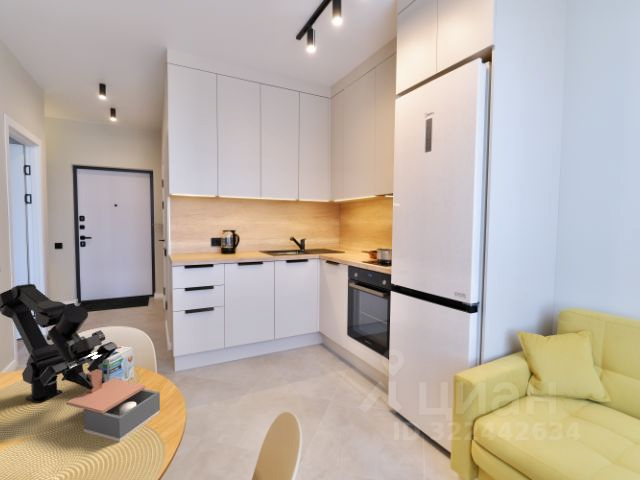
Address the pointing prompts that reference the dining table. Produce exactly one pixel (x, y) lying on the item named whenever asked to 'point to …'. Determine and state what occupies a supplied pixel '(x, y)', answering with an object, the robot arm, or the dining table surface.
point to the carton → (123, 416)
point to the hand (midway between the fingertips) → (98, 385)
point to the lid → (104, 393)
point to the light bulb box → (119, 364)
